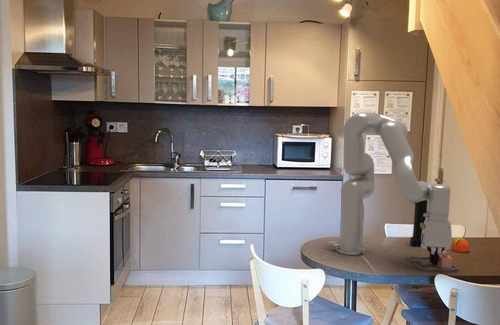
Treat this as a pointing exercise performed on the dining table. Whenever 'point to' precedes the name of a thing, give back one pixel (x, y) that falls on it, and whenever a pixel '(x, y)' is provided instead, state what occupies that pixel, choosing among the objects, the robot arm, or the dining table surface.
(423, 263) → the switch board
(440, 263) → the pink block
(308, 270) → the dining table surface
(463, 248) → the clementine
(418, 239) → the portable radio
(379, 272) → the dining table surface
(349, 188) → the robot arm
